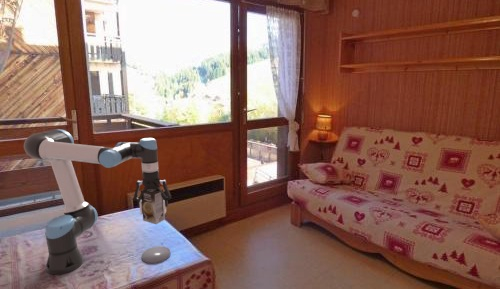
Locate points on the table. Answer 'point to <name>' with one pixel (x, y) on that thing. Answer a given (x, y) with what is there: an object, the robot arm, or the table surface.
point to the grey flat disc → (155, 254)
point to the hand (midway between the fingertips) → (153, 213)
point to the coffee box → (152, 206)
